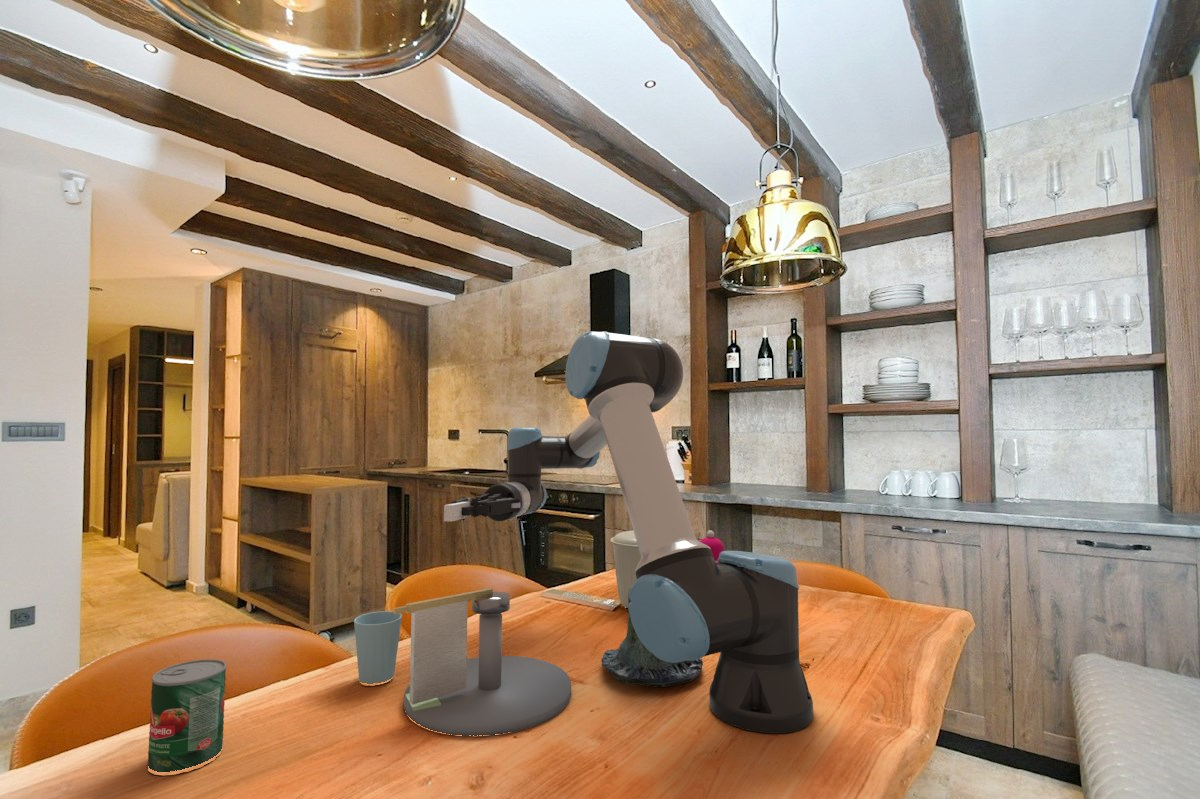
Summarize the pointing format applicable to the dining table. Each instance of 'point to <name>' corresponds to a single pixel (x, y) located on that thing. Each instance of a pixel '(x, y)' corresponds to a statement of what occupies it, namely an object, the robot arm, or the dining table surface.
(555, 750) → the dining table surface
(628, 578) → the canister
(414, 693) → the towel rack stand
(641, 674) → the tree stump
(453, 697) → the stand
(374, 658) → the cup
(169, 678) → the canned tomato
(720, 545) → the pepper mill
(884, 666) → the dining table surface
